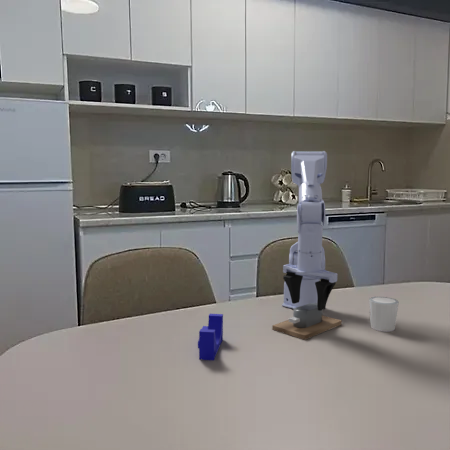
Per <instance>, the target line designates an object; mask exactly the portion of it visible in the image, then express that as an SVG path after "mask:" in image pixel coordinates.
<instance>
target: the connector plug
mask: <svg viewBox="0 0 450 450" xmlns="http://www.w3.org/2000/svg"><path fill="white" fill-rule="evenodd" d="M323 312H324V311H323V310H321V311H319V310H318V307H317V303H309V304H306V305H303V306H300V307H297V308H294V309H293V316H292V317H289V318H288V320H289V322H291V323H293V326H294V327H296V328H307V327H309V326H312V325H315V324H317V323H320V322H322V315H323Z"/></svg>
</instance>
